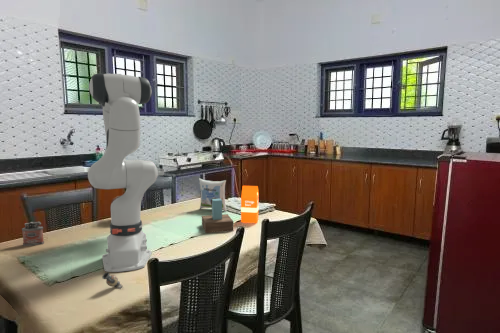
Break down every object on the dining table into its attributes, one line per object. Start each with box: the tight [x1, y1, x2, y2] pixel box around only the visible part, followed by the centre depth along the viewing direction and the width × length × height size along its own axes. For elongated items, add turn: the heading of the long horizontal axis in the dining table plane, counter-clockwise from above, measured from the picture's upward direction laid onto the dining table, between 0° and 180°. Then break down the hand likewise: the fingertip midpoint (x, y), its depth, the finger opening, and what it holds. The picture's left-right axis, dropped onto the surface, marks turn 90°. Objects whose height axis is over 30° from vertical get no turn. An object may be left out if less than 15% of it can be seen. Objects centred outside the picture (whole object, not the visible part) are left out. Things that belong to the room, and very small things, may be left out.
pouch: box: [198, 177, 228, 212], centre depth 208 cm, size 8×19×20 cm, turn 65°
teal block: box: [211, 199, 223, 220], centre depth 172 cm, size 4×4×10 cm
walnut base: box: [201, 213, 234, 234], centre depth 173 cm, size 14×14×5 cm
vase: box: [102, 272, 124, 290], centre depth 107 cm, size 5×5×6 cm
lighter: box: [21, 221, 45, 247], centre depth 147 cm, size 8×3×10 cm, turn 105°
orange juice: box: [240, 185, 260, 224], centre depth 185 cm, size 8×9×20 cm
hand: (164, 171), depth 164 cm, fingers open, 8 cm apart
